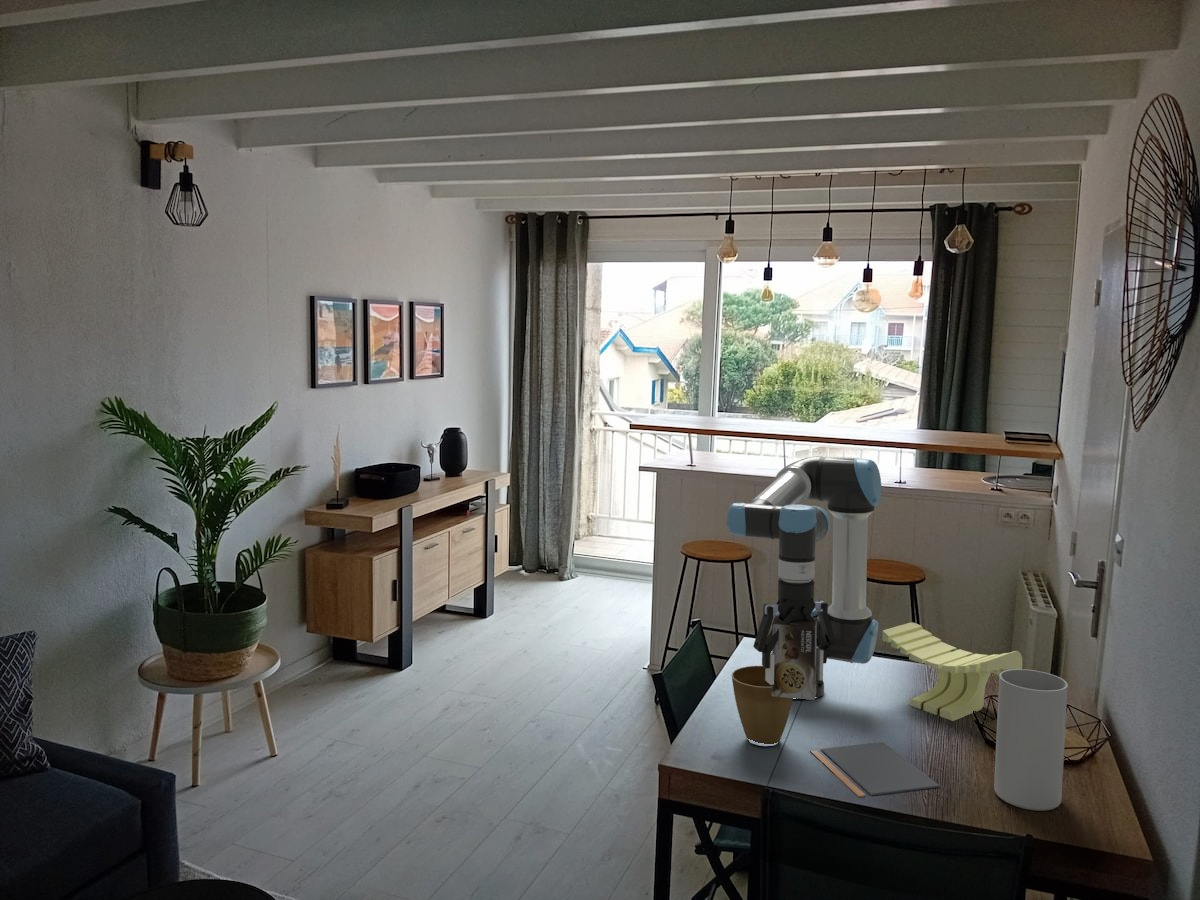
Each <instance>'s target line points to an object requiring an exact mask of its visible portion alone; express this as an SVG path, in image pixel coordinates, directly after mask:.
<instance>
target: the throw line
mask: <svg viewBox="0 0 1200 900" xmlns="http://www.w3.org/2000/svg"><path fill="white" fill-rule="evenodd" d="M815 750H816V751H812V752H816V753H813V754H815V756H816V757H817V758H818V759H819V760H820V761H821V762H820V761H819V760H818V759H817V758H816V757H815V756H814V757H815V758H816V759H817V760H818V761H819V762H820V763H821V764H823V763H824V764H825V765H826V766H827V767H828V768H829V769H830V770H831V771H832V772H833V773H834V776H835V777H836V778H838V779H839V780H840V781H841V782H842V783H843V784H845V786H846V787H847V788H849V790H850V791H852V793H854V794H855V795H856V796H857V797H858V798H862V797H866V794H865V793H864V792H863V791H862V790H861V789H860V788H858V787H857V786H856V785H855V784H854V783H853V782H852V781H851V780H850V779H849V778H848V777H847V776H846V775H844V774H843V773H842V772H841V771H840V770H839V769H838V768H836V767H835V766H834V765H833V764H832V763H831V762H830V761H829V760H828V759H827V758H826V757H825V756H823V754H821V753H820V752H819V751H818V750H817V749H815ZM813 754H812V755H813ZM816 754H817V755H816ZM824 764H823V765H824ZM825 765H824V766H825ZM826 766H825V767H826ZM827 767H826V768H827ZM828 768H827V769H828ZM829 769H828V770H829ZM830 770H829V771H830ZM831 771H830V772H831ZM832 772H831V773H832ZM833 773H832V774H833Z"/></svg>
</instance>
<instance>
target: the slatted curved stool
mask: <svg viewBox="0 0 1200 900" xmlns="http://www.w3.org/2000/svg"><path fill="white" fill-rule="evenodd" d="M881 636H882V638H881V639H882V641H883V642H886V643H890V647H891V648H893V649H896V650H897V649H900V650H899V653H900V654H901V655H902V654H903V655H905V656H907V655H909V657H908V659H909V661H913V662H916V663H920V664H924V665H926V666H929V667H932V668H935V669H936V672H937V677H938V679H937V682H936V684H935V685H934V686H933V687H932V688H931V689H930V690H928V691H926V692H924V693H923V694H919V695H918V696H915V697H912V698H911V699H910V701H909V702H908V704H907V705H908V706H911V707H914V708H916V709H919V710H923V712H924V711H925V712H927V713H929V714H932V715H935V716H937V715H939V717H941V718H943V719H946V720H949V721H951V722H954V721H956V720H959V719H961V718H964V717H965V716H966V717H967V716H968V715H970V714H974V713H973V711H974V710H975V711H976V712H978V711H982V709H983V707H984V704H985V691H986V685H987V682H988V680H989V678H990V675H991V674H993V675H996V676H999V674H1000V673H1001V672H1003V671H1006V670H1011V669H1023V656H1022V654H1021V652H1020V651H1019V650H1014V651H1011V652H1004V653H1003V652H1002V653H1001V654H981V653H973V652H971V651H967V650H963V649H960V648H959V649H957V647H955V646H953V645H950V644H948V643H945V642H944V641H942V639H940V638H938V637H936V636H934V635H933V633H932V632H930V631H928V630H926V629H924V628H923V626H922V625H921V624H918V623H915V622H908V623H904V624H900V625H896V626H894V627H890V628H886V629H883V630H882V635H881Z"/></svg>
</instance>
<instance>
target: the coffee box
mask: <svg viewBox="0 0 1200 900" xmlns="http://www.w3.org/2000/svg"><path fill="white" fill-rule="evenodd" d="M778 616H779V615H776V614H775V615H774V617H773V621H772V624H771V628H772V629H771V630H772V636H773V635H774V634H775V633H776V632H777V630H778V629H779V640H778V641H777V643H776V645H775V647H774V648H773V650H772V653H773V654H774V685H772V696H774V697H785V698H796V699H806V700H805V701H815V696H816V650H817V618H813V620H814V621H811V622H808V621H807V620H806V621H798V622H792V623H791V622H790V623H789V624H785V625H782V624H781V623H780V622H778V620H776V619H777V617H778ZM782 621H784V619H783V620H782Z"/></svg>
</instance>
